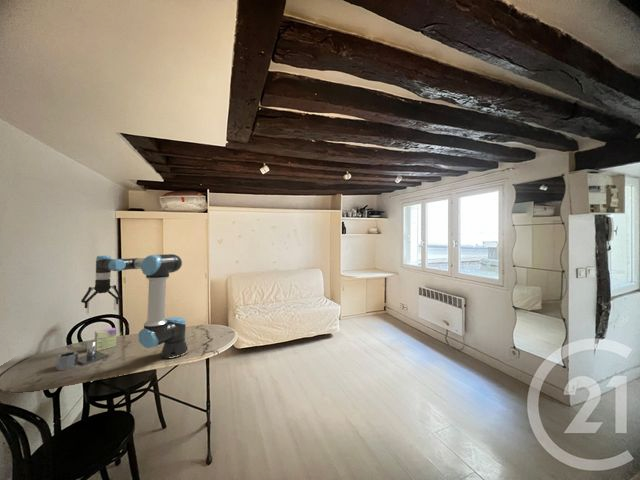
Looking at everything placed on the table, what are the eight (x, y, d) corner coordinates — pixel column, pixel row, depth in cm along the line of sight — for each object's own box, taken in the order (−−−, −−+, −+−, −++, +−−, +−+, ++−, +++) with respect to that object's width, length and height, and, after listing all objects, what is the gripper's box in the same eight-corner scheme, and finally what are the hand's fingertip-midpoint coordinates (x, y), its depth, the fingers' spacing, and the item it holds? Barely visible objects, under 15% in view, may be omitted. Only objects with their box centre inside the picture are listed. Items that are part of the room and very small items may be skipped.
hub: (79, 365, 145) (80, 353, 145) (61, 371, 137) (61, 358, 138) (72, 362, 148) (73, 350, 148) (54, 368, 141) (54, 355, 141)
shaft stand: (108, 357, 156) (108, 340, 156) (83, 365, 145) (84, 347, 145) (97, 353, 161) (98, 337, 161) (73, 361, 150) (73, 343, 150)
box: (113, 344, 175) (114, 327, 176) (116, 346, 172) (116, 329, 172) (93, 349, 167) (94, 331, 167) (96, 351, 164) (97, 333, 164)
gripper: (125, 276, 177) (124, 306, 177) (76, 279, 159) (75, 313, 159) (127, 278, 172) (126, 308, 172) (77, 281, 154) (75, 315, 154)
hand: (101, 311), depth 165 cm, fingers open, 13 cm apart
